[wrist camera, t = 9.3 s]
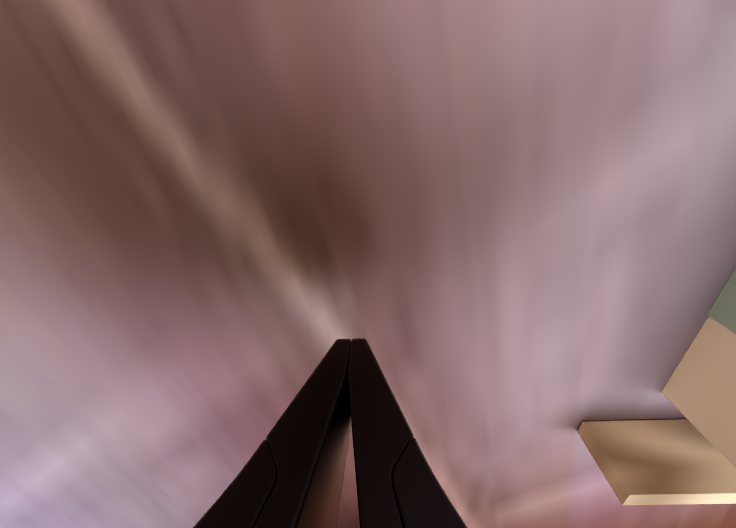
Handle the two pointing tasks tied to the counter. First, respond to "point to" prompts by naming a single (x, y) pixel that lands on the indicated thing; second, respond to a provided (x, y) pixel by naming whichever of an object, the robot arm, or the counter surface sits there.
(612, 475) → the tan tray
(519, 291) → the counter surface
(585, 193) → the counter surface
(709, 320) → the carton
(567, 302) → the counter surface
